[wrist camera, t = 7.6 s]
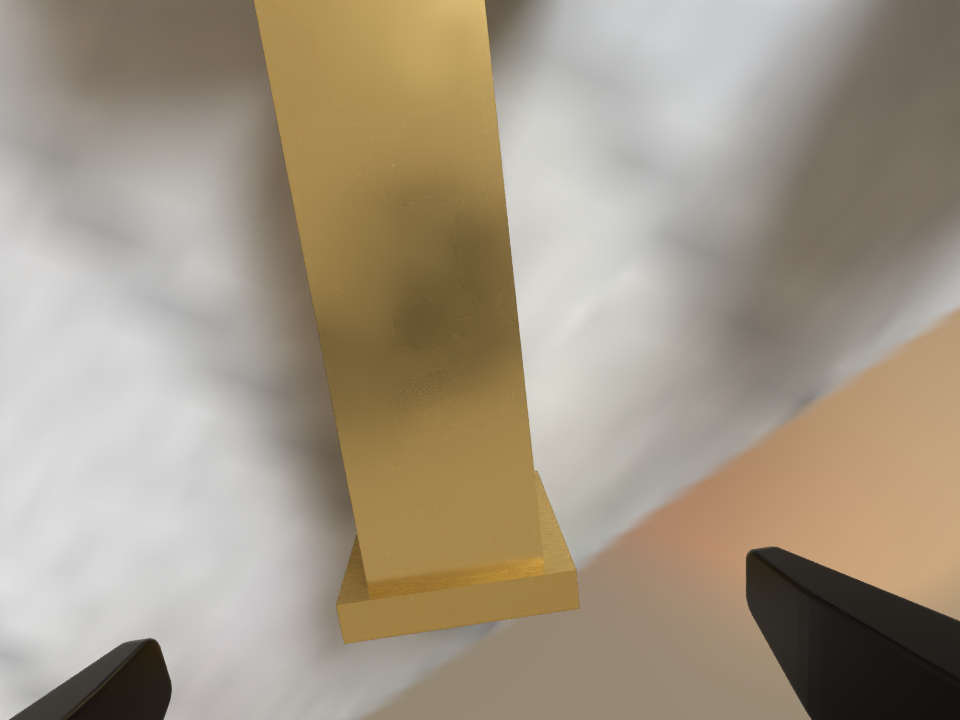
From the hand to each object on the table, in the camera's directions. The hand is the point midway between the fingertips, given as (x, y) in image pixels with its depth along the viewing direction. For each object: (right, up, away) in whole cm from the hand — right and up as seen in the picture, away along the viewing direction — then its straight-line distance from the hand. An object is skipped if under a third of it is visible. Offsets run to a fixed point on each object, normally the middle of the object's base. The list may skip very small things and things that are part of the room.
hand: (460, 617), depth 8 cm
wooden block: (-2, +6, +10) cm, 12 cm away
